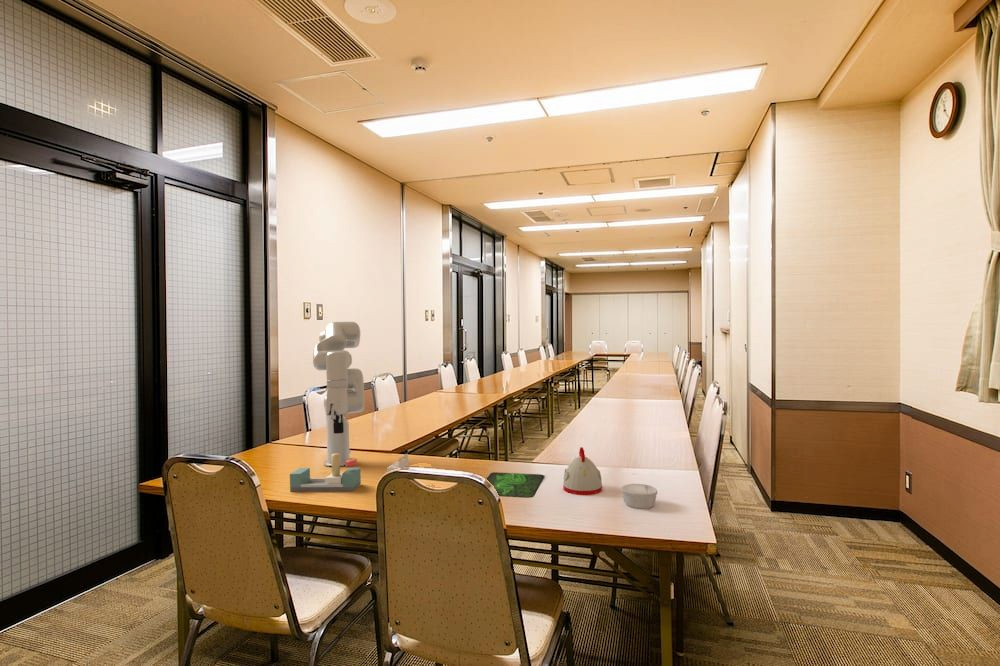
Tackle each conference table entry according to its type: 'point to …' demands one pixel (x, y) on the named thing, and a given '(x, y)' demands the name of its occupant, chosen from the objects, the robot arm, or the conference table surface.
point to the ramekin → (639, 496)
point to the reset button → (351, 463)
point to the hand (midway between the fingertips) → (338, 432)
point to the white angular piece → (399, 463)
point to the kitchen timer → (582, 477)
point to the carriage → (334, 471)
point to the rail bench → (304, 483)
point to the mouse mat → (515, 484)
